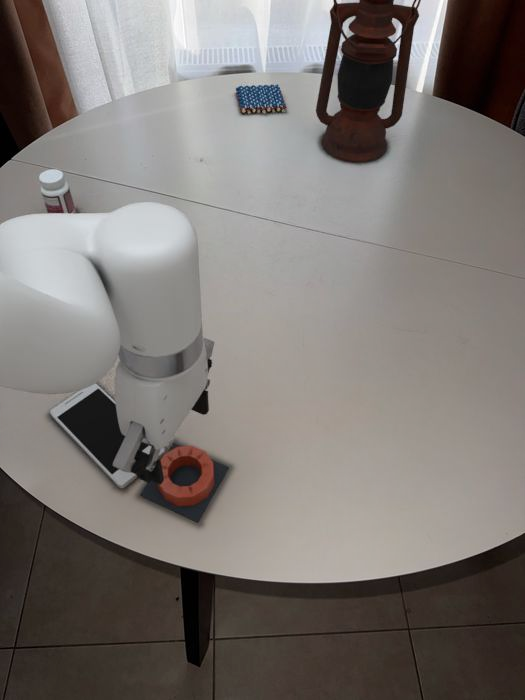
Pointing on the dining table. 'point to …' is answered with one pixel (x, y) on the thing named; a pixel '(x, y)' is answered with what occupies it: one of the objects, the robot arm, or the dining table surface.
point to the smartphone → (96, 429)
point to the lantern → (364, 77)
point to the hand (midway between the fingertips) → (173, 441)
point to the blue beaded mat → (260, 98)
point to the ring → (196, 490)
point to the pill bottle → (56, 192)
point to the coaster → (185, 478)
